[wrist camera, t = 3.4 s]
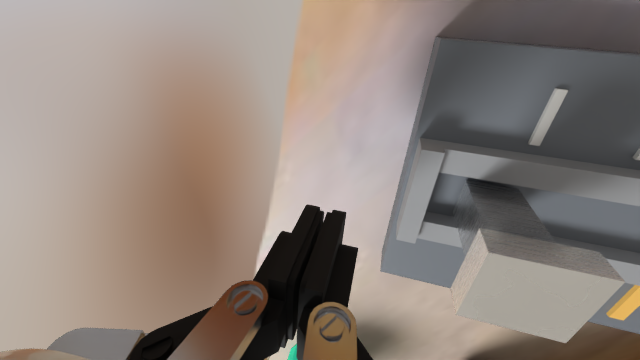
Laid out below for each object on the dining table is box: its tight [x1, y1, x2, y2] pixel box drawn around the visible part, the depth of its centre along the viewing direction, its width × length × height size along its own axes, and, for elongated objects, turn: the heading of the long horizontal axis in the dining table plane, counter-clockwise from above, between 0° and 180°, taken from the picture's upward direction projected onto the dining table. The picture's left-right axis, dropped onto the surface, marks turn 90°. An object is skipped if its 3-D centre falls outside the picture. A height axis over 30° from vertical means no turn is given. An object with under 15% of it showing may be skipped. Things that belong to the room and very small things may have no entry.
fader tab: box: [451, 180, 625, 343], centre depth 11 cm, size 3×4×6 cm
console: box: [380, 37, 640, 334], centre depth 13 cm, size 14×18×4 cm
